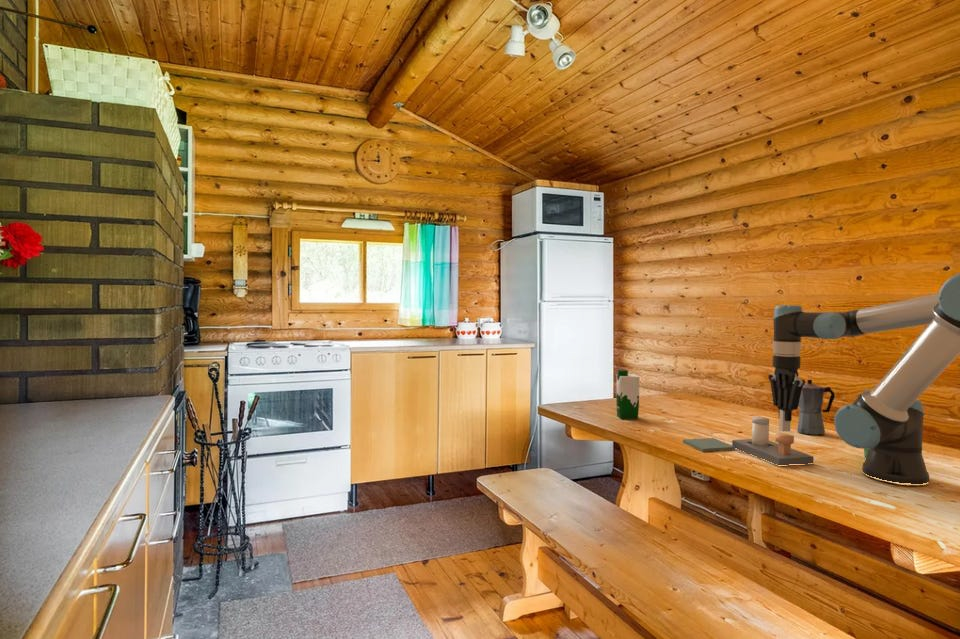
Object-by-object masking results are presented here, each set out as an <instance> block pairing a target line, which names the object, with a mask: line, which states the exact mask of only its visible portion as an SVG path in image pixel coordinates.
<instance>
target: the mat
mask: <svg viewBox="0 0 960 639" xmlns="http://www.w3.org/2000/svg"><path fill="white" fill-rule="evenodd" d="M682 443H683V444H686V445H687V446H689V447H691V448H694V449H697V450H698V451H700V452H702V453H703V452H704V453H706V451H708V452H718V451H717V450H725V451H733V450H732V449H735V447H734V446H732V444H729V443H728V442H727V443H726V442H724V441H722V440H720V439H716V438H715V437H708V438H703V437H702V438H691V439H690V438H688V439H682ZM735 450H736V449H735Z"/></svg>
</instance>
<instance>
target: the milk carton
mask: <svg viewBox="0 0 960 639" xmlns="http://www.w3.org/2000/svg"><path fill="white" fill-rule="evenodd" d="M615 375H616V393H615V394H616V395H615V396H616V397H615V398H616V401H615V403H616V406H615V407H616V416H617V417H618V418H619V419H620V420H638V419H639V411H640V376H639V375H636V374H633V373H632V374H629V370H627V369H619V370H617V374H615Z"/></svg>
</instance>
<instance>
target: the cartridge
mask: <svg viewBox="0 0 960 639" xmlns="http://www.w3.org/2000/svg"><path fill="white" fill-rule="evenodd" d="M769 437H770V418H768V417H765V416H752V417H751V439H752V445H755V446H757V447H763V446H769V441H770V438H769Z"/></svg>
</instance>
